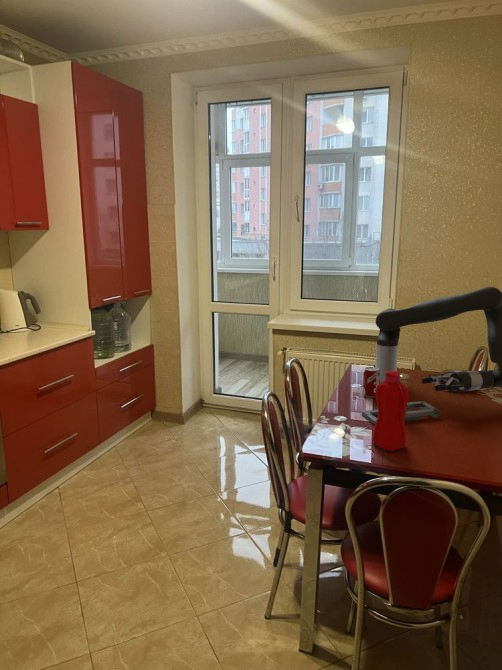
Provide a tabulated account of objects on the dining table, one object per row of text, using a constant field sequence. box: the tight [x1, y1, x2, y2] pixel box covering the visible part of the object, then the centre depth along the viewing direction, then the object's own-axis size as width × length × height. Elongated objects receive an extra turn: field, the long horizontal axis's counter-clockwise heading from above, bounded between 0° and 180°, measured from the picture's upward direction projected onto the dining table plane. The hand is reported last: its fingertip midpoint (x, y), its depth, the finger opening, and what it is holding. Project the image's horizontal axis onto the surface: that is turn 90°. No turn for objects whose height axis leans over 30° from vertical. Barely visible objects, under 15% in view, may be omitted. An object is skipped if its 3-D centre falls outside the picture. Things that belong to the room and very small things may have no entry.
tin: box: [439, 368, 469, 383], centre depth 208 cm, size 15×3×8 cm, turn 84°
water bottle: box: [372, 371, 410, 452], centre depth 152 cm, size 9×11×25 cm
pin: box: [400, 373, 410, 388], centre depth 178 cm, size 5×5×16 cm
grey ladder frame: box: [361, 400, 440, 426], centre depth 179 cm, size 26×10×3 cm, turn 103°
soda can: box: [362, 366, 380, 399], centre depth 200 cm, size 7×7×12 cm
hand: (428, 384), depth 180 cm, fingers open, 8 cm apart
